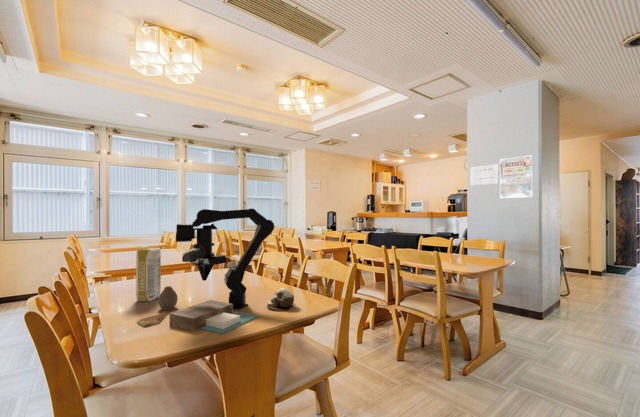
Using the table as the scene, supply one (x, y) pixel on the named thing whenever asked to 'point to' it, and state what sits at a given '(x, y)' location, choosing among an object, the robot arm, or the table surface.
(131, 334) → the table surface
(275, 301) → the skull
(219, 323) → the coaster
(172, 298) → the vase
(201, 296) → the table surface
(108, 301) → the table surface
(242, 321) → the mat
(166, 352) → the table surface
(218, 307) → the brick
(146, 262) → the juice carton
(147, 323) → the shard
